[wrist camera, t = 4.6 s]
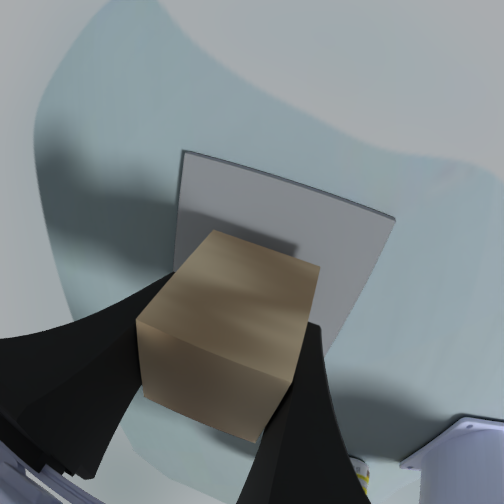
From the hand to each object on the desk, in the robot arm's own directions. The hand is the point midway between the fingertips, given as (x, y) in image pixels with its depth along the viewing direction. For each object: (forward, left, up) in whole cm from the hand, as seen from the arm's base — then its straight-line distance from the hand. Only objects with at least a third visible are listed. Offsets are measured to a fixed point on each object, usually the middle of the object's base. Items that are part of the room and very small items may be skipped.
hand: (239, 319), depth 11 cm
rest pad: (0, 0, -3) cm, 3 cm away
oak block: (0, 0, -2) cm, 2 cm away
